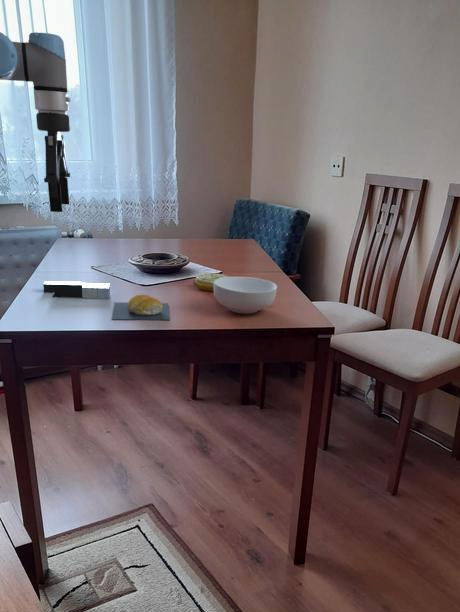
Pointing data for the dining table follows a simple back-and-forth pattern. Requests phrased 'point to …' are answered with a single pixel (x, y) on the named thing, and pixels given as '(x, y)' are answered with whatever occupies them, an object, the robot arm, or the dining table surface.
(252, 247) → the dining table surface
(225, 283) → the cereal bowl
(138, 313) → the bread roll
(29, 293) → the dining table surface
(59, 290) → the black and grey bar
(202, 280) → the decorated donut
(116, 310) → the placemat
